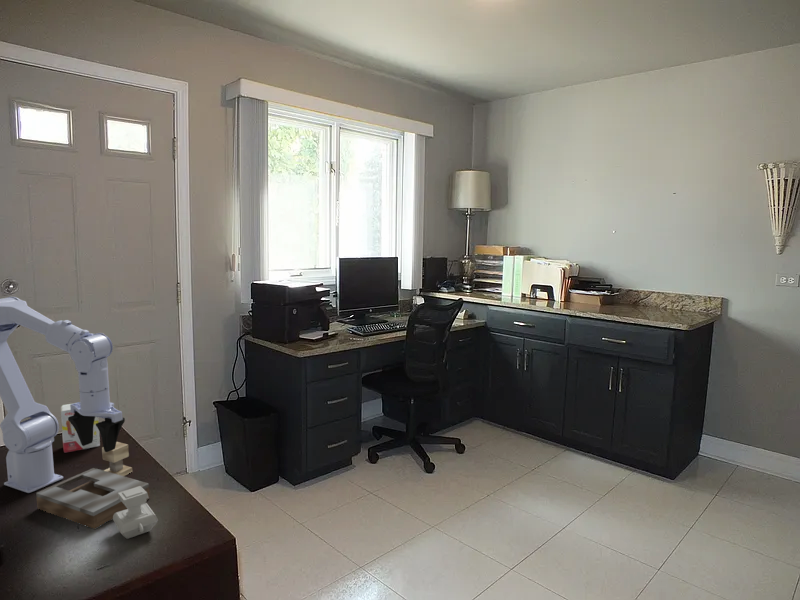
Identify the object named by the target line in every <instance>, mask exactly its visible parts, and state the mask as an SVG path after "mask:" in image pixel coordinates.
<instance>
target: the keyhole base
mask: <svg viewBox="0 0 800 600" xmlns="http://www.w3.org/2000/svg"><path fill="white" fill-rule="evenodd" d="M104 470H105V469H100V468H99V469H98V468H97V467H92V468H89V469H88V470H85V471H83V472H81V473H78V474H76V475H74V476H71V477H68V478H66V479H64V480H62V481H61V482H60V481H59V482H58V483H55V484H53V485H52V486H49V487H46V488H45V489H42V490H39V491H37V492H35V497H36V509H37V510H39V509H40V511H42V510H43V512H45V511H46V512H45V513H48V514H50V513H51V515H53V514H54V516H56V515H57V516H56V517H59V518H62V517H63V518H62V519H64V518H67V519H69V520H68V521H70V520H72V521H71V522H73V521H74V522H73V523H76V522H77V523H76V524H78V523H80V524H79V525H81V524H82V526H84V525H86V526H85V527H87V526H88V528H89V527H91V528H90V529H92V528H94V529H93V530H96V529H98V528H100V527H101V526H103V525H105V524H106V523H105V522H107V521H109V520H110V521H112V520H113V515H114V514H115V513H116V512H119V511H122V510H125V509H127V508H126V506H125V505H124V504H123V503H122V501H121V500H120V499H119V496H118V493H119V492H122V491H125V490H129V489H132V488H135V487H138V486H141V487H142V488H143V489H144V490H145V491H146V492H147V493H148V496H149V498H148V499H149V500H150V497H151V496H150V483H148V482H145V481H141V480H138V479H134V478H131V477H127V476H121V475H117V474H114V473H110V472H107V471H104ZM81 479H84V480H86V481H87V480H88V481H87V482H85V483H83V484H81V485H78V486H77V487H74V488H72V489H70V490H68V489H64V487H66V486H68V485H71V484H72V483H75V482H77V481H79V480H81ZM148 499H146V500H147V501H148ZM67 519H66V520H67ZM111 519H112V520H111ZM110 521H109V522H110ZM104 523H105V524H104ZM107 523H108V522H107ZM102 524H103V525H102ZM100 525H101V526H100ZM99 526H100V527H99ZM97 527H98V528H97ZM95 528H96V529H95Z"/></svg>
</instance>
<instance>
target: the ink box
mask: <svg viewBox="0 0 800 600" xmlns="http://www.w3.org/2000/svg"><path fill="white" fill-rule="evenodd" d="M71 404H72V403H68V404H62V405H61V406H60V418H61V419H60V421H61V422H60V423H61V434H62V448H63V453H71V452H76V451H81V450H87V449H90V448H98V447H100V446H101V442H100V441H101V439H100V431H99V429H98V428H97V426H96V423H99V417H95V420H94V426H93V441H92V443H90V444H88V445H85V446H82V444H81V442H80V439H79V437H78V434H77V432H76V430H75V428H74V427H73V425H72V424H71V423H70V421H69V420H68V417H70V416H73V415H74V414H75V413H71V408H70V405H71Z"/></svg>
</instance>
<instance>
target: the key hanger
mask: <svg viewBox="0 0 800 600" xmlns="http://www.w3.org/2000/svg"><path fill="white" fill-rule="evenodd" d="M129 456H130V453H129V444H127V443H123V442H120V441H117V442H116V446H115V449H114V450H111V451H109V452H105V451H104V448H103V447H101V457H102V461H106V462H109V467H108V468H106V469H103V470H104V471H107V472H110V473H114V474H117V475H121V476H124V477H126V476H127V475H129V473H130V474H131V472H132V473H133V467H131V466H128V465H125V464H124V461H123V459H124V460H125V459H126V458H128V457H129Z"/></svg>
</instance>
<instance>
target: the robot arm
mask: <svg viewBox="0 0 800 600" xmlns="http://www.w3.org/2000/svg"><path fill="white" fill-rule="evenodd" d="M19 326H21V327H24V328H26V329H29V330H31V331H33V332H35V333H38V334H41V335H43V336H44V339H45V341H46V343H48V344H49V345H51V346H54V347H56V348H57V349H60V350H62V351H64V352H66V353H68V354H69V356H70V358H71V360H72V361H73V362H74V365H75V370H76V371H77V375H78V376H77V377H78V388H79V401H78V402H74V403H70V404H71V405H70V408H71V413H75V414H74V415H73V416H70V417H68V420H69V421H70V423H71V424H72V425H73V427H74V428H75V430H76V432H77V434H78V437H79V439H80V442H81V444H82V446H85V445H88V444H90V443H92V441H93V426H94V420H95V417H98V419H104V420H102V421H100V422H99V421H98V422H99V423H96V426H97V428H98V429H99V435H100V436H101V441H102V448H104V451H105V452H109V451H111V450H114V449H115V446H116V442H118V437H119V434H120V431H121V429H122V427H123V425H124V423H125V421H126V419H125V417H123V411H122V410H119V409H117V408H115V402H112V401H111V398H110V396H111V395H110V382H109V364H108V357H109V356H111V355H112V352H113V350H114V347H113V342H112V340H111V338H110V337H109V336H108V335H106V334H105V333H104V332H97V333H91V332H90V330H88V329H82V328H80V327H78V326H76V325H74V324H72V321H71V320H69V319H65V320H61V319H60V320H57V321H54V320H53V319H51V318H49V317H47V316H45V315H44V314H42V313H40V312H39V311H36V310H35V309H33V308H32V307H30V306H28V302H27V301H26V300H23V299H20V298H19V297H17V296H8V297H7V296H6V297H4V298H2V297H1V298H0V399H1V401H2V404H3V406H4V408H5V410H6V412H7V414H6V415H5V417H4V418H3V419H2V421H1V422H0V430H1V432H2V442H3V443H4V444H3V445H4V446H5V447H6V448H7V449H8V451H7V454H6V457H5V461H6V470H7V481H5V482H3V486H7V487H10V488H12V489H15V490H18V491H21V492H24V493H27V494H30V493H33V492H35V491H38V490H40V489H42V488H44V487H46V486H49V485H52V484H54V483H56V482H58V481H61V480H63V479H64V476H63V475H61V474H57V473H55V468H54V465H55V464H54V454H53V442H55V437H56V436H57V435H58V433H59V431H60V425H59V424H60V423H59V421H58V419H57V417H56V416H55V415H54V414H53V413H52V412H51V411H50V409H49V408H48V405H45V404H42V403H39V402H36V401H35V399H34V396H33V395H32V392H31V390H30V389H29V386H28V383H26V380H25V377H24V376H23V373H22V372H21V370H20V367H19V365H18V363H17V361H16V359H15V357H14V354H13V352H12V350H11V347H10V346H9V343H8V339H9V337H10V335H12V334H13V333H14V331H15V330H16V329H17V328H18V327H19ZM24 419H25V420H24Z"/></svg>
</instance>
